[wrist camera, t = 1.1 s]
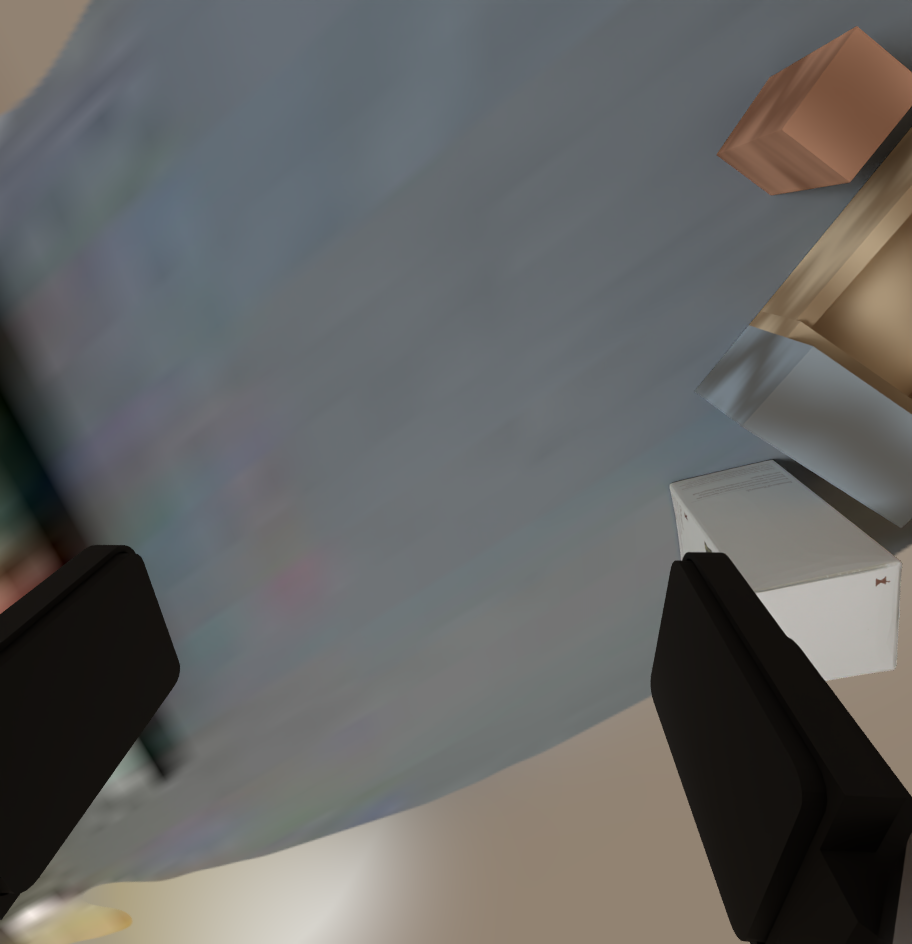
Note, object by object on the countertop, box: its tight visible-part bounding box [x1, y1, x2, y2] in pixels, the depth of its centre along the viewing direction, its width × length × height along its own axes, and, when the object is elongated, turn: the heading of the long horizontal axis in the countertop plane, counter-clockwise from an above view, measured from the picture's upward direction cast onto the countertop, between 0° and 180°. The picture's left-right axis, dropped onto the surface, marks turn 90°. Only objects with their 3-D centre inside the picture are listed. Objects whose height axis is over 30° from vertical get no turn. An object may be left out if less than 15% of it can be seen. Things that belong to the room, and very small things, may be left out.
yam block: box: [717, 26, 912, 195], centre depth 24 cm, size 4×4×7 cm
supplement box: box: [670, 460, 902, 681], centre depth 32 cm, size 7×7×13 cm
